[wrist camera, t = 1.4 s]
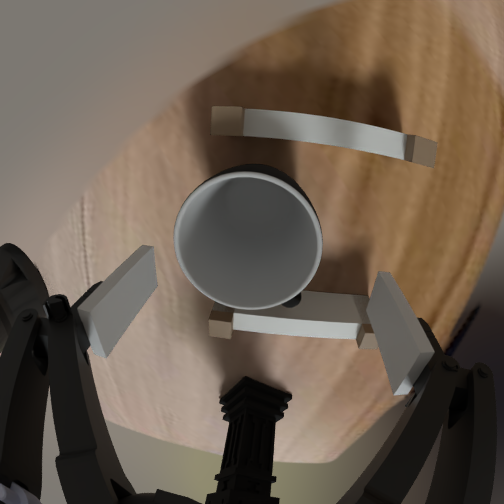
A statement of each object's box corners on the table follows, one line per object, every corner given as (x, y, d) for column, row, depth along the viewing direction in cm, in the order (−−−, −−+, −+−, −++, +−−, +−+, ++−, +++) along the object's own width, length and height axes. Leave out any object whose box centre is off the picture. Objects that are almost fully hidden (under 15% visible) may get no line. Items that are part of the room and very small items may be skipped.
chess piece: (291, 394, 36) (287, 519, 18) (262, 415, 40) (250, 523, 22) (245, 376, 35) (223, 511, 17) (220, 399, 38) (194, 512, 20)
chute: (222, 297, 30) (209, 336, 24) (229, 112, 22) (211, 106, 16) (363, 310, 29) (377, 349, 23) (402, 137, 21) (437, 142, 15)
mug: (193, 184, 25) (145, 217, 16) (279, 137, 22) (279, 141, 13) (254, 285, 29) (242, 355, 20) (334, 250, 26) (358, 313, 17)
